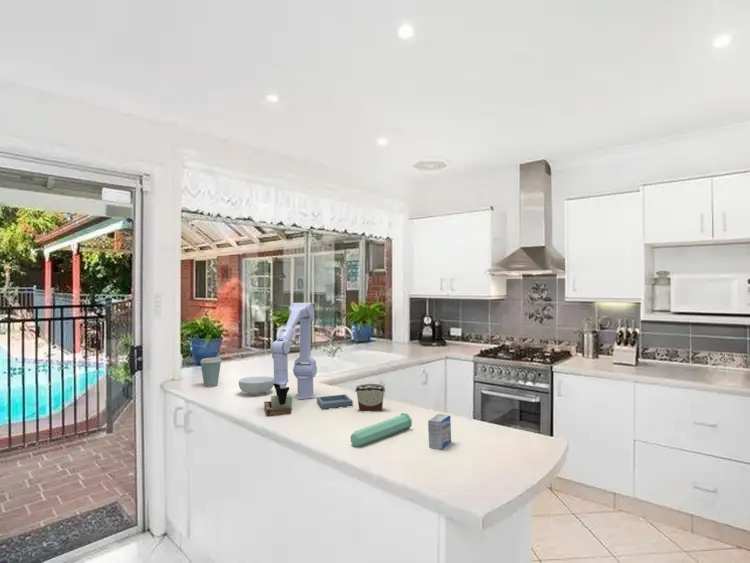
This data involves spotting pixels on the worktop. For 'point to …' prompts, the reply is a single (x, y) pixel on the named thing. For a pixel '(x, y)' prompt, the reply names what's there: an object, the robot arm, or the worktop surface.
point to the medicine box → (439, 431)
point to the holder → (275, 410)
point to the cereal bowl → (256, 384)
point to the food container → (370, 397)
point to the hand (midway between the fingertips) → (281, 402)
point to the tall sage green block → (276, 403)
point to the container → (381, 430)
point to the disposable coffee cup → (210, 371)
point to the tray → (334, 401)
